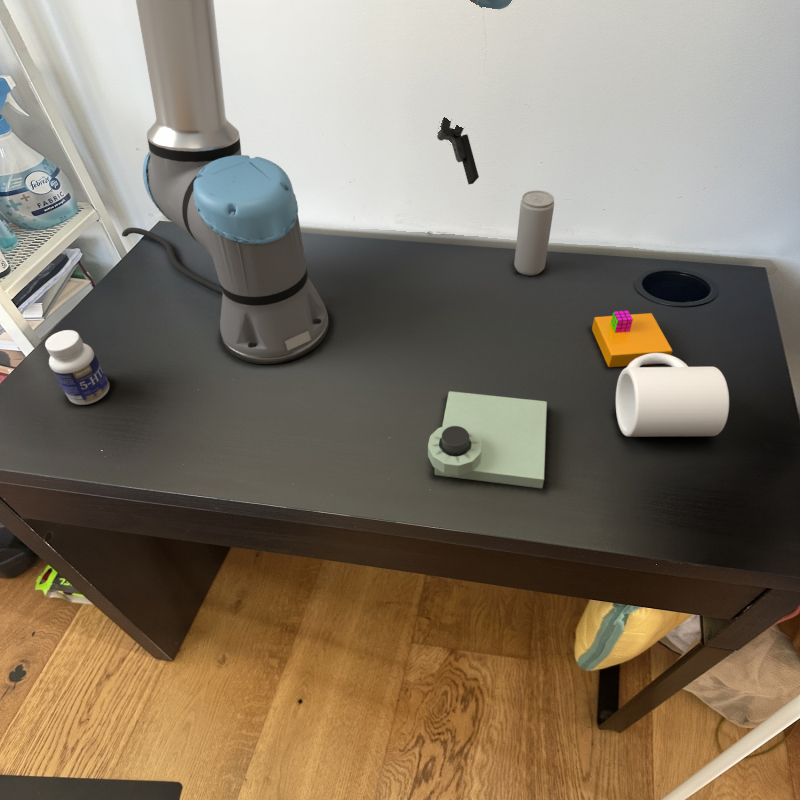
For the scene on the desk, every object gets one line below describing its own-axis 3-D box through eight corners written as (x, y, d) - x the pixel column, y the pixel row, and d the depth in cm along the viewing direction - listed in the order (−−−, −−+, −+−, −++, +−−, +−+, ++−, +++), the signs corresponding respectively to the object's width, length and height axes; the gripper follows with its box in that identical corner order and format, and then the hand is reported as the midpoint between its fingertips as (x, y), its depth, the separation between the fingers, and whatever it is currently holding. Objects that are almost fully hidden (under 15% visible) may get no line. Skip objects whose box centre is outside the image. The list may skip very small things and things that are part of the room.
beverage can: (547, 262, 100) (557, 192, 91) (541, 279, 97) (552, 208, 88) (517, 258, 101) (524, 188, 92) (510, 274, 98) (518, 203, 89)
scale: (425, 480, 70) (424, 461, 68) (441, 399, 79) (441, 379, 77) (541, 495, 68) (546, 476, 66) (545, 410, 77) (548, 390, 75)
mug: (713, 450, 72) (737, 401, 66) (625, 450, 72) (641, 402, 67) (683, 378, 80) (702, 329, 75) (604, 379, 81) (617, 331, 75)
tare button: (439, 454, 69) (439, 444, 68) (443, 434, 71) (443, 424, 70) (467, 458, 68) (467, 447, 67) (470, 437, 70) (470, 427, 69)
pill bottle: (94, 409, 80) (65, 357, 74) (60, 402, 82) (29, 350, 75) (118, 381, 84) (93, 330, 78) (85, 375, 85) (57, 323, 79)
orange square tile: (647, 325, 88) (655, 300, 85) (668, 363, 82) (677, 338, 79) (591, 329, 88) (596, 304, 85) (608, 367, 82) (614, 343, 79)
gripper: (541, 38, 101) (575, 166, 101) (395, 61, 96) (432, 196, 96) (562, 8, 93) (599, 147, 94) (406, 32, 88) (445, 178, 89)
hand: (514, 172), depth 95 cm, fingers open, 13 cm apart
